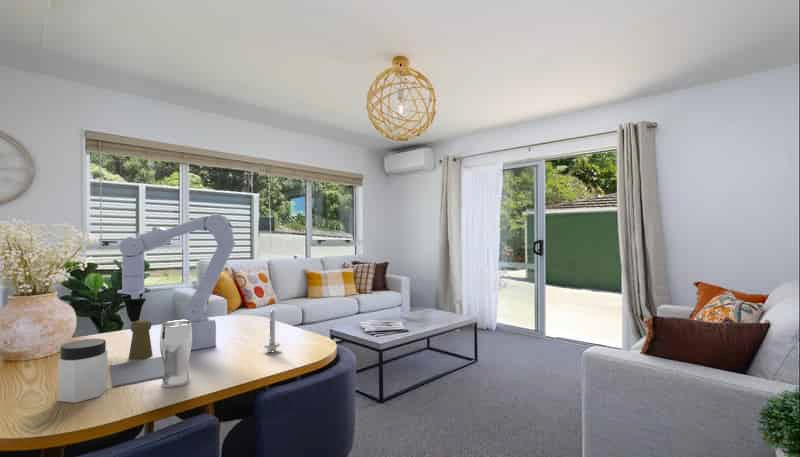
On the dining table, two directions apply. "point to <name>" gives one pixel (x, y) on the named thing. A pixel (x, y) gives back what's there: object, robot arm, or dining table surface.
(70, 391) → the jar
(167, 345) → the beer glass
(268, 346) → the screw
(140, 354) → the cork
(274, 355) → the dining table surface
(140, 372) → the mat
